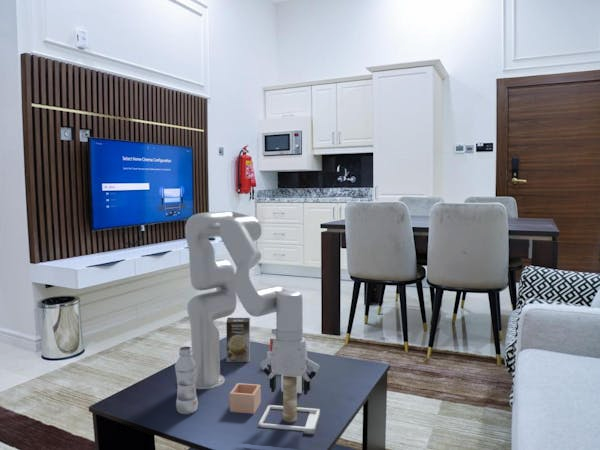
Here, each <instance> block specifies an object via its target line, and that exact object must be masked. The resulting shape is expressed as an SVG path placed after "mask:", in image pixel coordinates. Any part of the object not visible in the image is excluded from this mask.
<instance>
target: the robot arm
mask: <svg viewBox="0 0 600 450" xmlns="http://www.w3.org/2000/svg"><path fill="white" fill-rule="evenodd" d="M262 232H263V231H262V226H261V224H260V221H259V220H258V219H257V218H255V217H254V216H251V215H249V214H243V213H239V212H237V211H229V210H227V211H224V210H223V211H209V212H208V211H207V212H201V213H196V214H192V215H191V216H190V217H189V218H188V219H187V220H186V223H185V226H184V233H185V236H184V237H185V239H186V240H185V241H186V243H187V248H188V254H189V257H188V258H189V275H190V276H189V277H190V285H191V287H192V288H193V289H194V290H196V291H209V290H212V289H216V290H215V291H210V292H206V293H201V294H197V295H195V296H193V297H191V298H190V300H189V301H188V303H187V308H186V310H187V316H188V319H189V325H190V338H191V339H190V341H191V342H190V343H191V344H190V345H191V348H192V355H191V356H192V357H193V358H194V360H195V361H196V364H197V368H196V381H195V387H196V390H210V389H214V388H218V387H220V386H221V385H224V383H225V381H226V378H225V377H224V376H223V375H222V374H221V360H220V359H221V358H220V357H221V354H220V353H221V352H220V332H219V329H218V327H217V326H216V324H215V323H214V321H215V320H219V319H222V318H225V317H228V316H231V315H232V314H233V313H234V312H235V311H236V309H237V298H238V300H239V302H240V303H241V305H242V307H243V309H244V310H245V312H246V313H248V315H250V316H252V317H256V318H257V317H263V316H265V315H268V314H269V315H270V314H274V313H276V314H275V315H276V316H275V318H276V321H275V323H276V328H274V329H271V334H272V335H274V336H275V337H274V338H273V339H274V341H273V347H272V357H270V358H268V359H267V358H265V359H263V360H262V361H261V362H260V366H261V368H262V370H263V372H264V374H265V375H266V376H267V378H268V379H269V389H271V390H270V391H271V392H270V393H274V392H275V391H276V389H277V376H278V375H291V376H303V377H304V378H305V381H304V391H303V394H304V395H305V396H306V395H308V392H310V391H311V379H313V378H314V377H315V376H316V374H317V373H318V371H319V369H320V366H321V365H320V364H318V363H317V362H315V361H313V360H311V359H309V358H308V349H307V343H306V342H307V341H306V339H305V337H303V333H304V332H303V331H304V330H303V325H304V324H303V321H304V320H303V295H302V293H301V292H299V291H296V290H289V289H287V288H285V287H283V286H280V285H273V286H269V287H265V288H260V289H256V288H255V285H254V284H253V282H252V280H251V277H250V271H251V269H253V268H254V267H255V266H256V265H257V264H258V263H259V262H260V261H261V259H262V253H261V251H260V250H259V248H258V246H257V244H256V241H258V240H259V239H260V237H261V236H262ZM211 238H220V239H221V241H222V243H223V245H224V246H225V248H226V251H227V252H228V253H229V255H230V257H231V259H232V261H233V263H234V265H235V266H236V267H235V268H236V270H235V269H234V266H233V265H232V263H231V262H230V261H228V260H226V259H215V258H216V256H215V255H216V254H215V253H216V252H215V248H214V245H213V243H212V242H211V240H210V239H211ZM269 363H271V365H270V367H269V366H268V364H269ZM308 366H309V367H311V368H312V370H311V372H310V371H309V370H308ZM276 375H277V376H276Z"/></svg>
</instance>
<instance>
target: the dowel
mask: <svg viewBox="0 0 600 450" xmlns="http://www.w3.org/2000/svg"><path fill="white" fill-rule="evenodd" d="M282 406H283V410H282V417H283V418H282V419H283V421H284V422H286V423H295V422H296V421H297V420H298V411H297V407H298V393H297V376H291V375H284V376H283V392H282Z"/></svg>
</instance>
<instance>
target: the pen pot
mask: <svg viewBox="0 0 600 450" xmlns="http://www.w3.org/2000/svg"><path fill="white" fill-rule="evenodd" d="M261 388H262V387H261V384H256V383H255V384H254V383H243V382H237V383H236V384H235V386H234V387H233V388H232V389H231V391H230V392H229V412H230V413H241V414H243V413H244V414H252V415H253V414H256V412H257V410H258V408H259V407H260V404H261V403H262V397H261V396H262V392H261V391H262V389H261Z"/></svg>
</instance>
